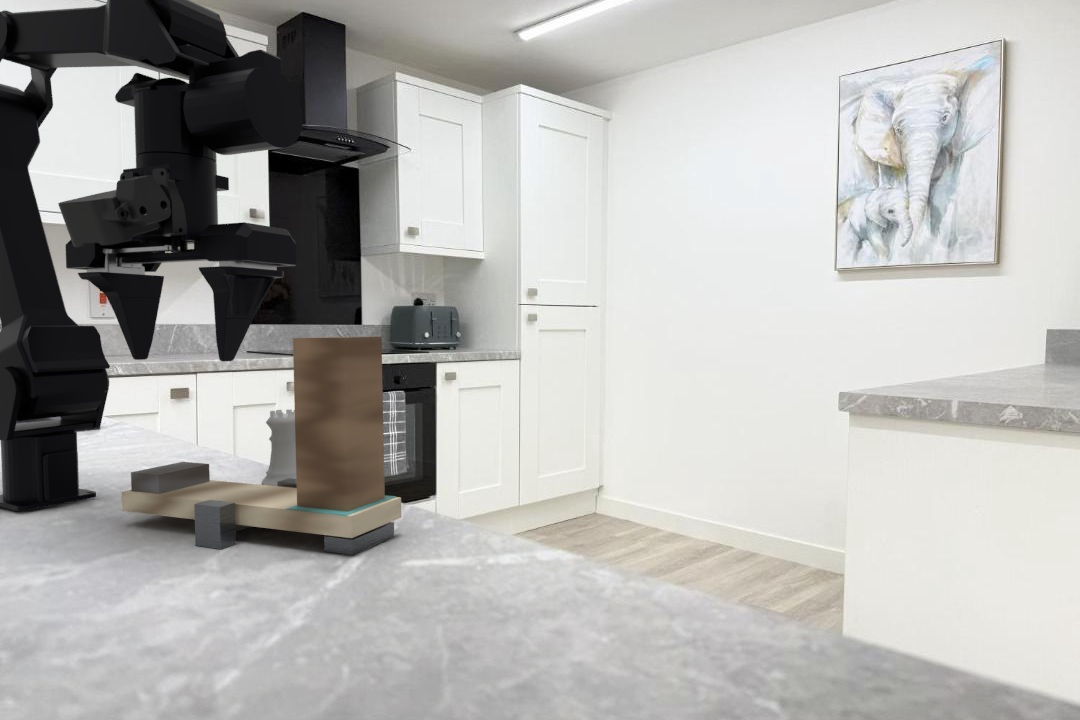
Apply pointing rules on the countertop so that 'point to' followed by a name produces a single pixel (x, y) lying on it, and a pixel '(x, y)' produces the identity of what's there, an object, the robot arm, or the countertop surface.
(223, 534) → the seesaw stand
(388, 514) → the seesaw beam
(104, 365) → the robot arm
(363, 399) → the column
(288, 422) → the rook chess piece
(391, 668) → the countertop surface
